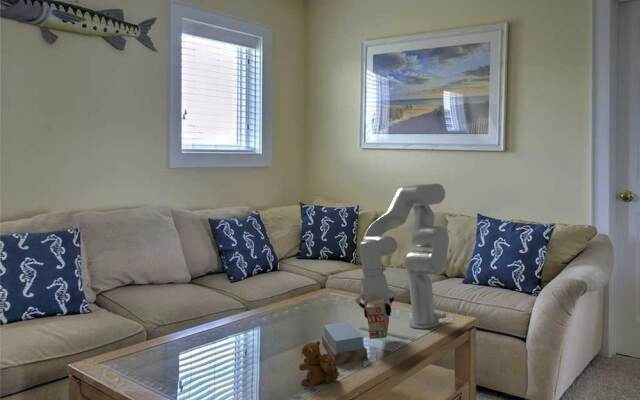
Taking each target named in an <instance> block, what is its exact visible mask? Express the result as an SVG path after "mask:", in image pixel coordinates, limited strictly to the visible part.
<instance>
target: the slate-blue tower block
mask: <svg viewBox="0 0 640 400" xmlns="http://www.w3.org/2000/svg"><path fill="white" fill-rule="evenodd" d="M323 331H324V332H323V333H324V335H325V337H326V339H327V340H328V342H329V343H330V344H331V346H332V347H333V349H334V350H335V351H336V353H342V352H348V351H354V350H360V349H364V348H363V346H364V341H363V340H364V339H363V336H362V335H361V334H360V333H359V332H358V330H357V329H355V327H354V326H353V325H352V324H350V322H349V321H341V322H336V323H329V324H323ZM324 335H323V336H324Z"/></svg>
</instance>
